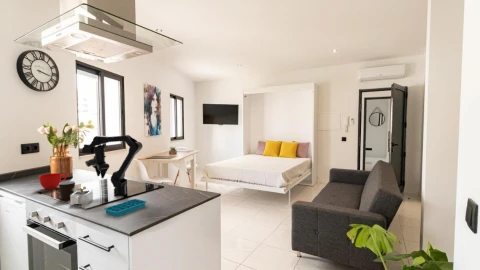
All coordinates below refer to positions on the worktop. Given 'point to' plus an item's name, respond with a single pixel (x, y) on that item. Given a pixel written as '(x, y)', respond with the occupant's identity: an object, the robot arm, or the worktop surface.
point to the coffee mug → (67, 189)
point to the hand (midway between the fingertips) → (100, 177)
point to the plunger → (81, 189)
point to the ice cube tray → (125, 207)
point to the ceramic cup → (51, 180)
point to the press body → (81, 197)
